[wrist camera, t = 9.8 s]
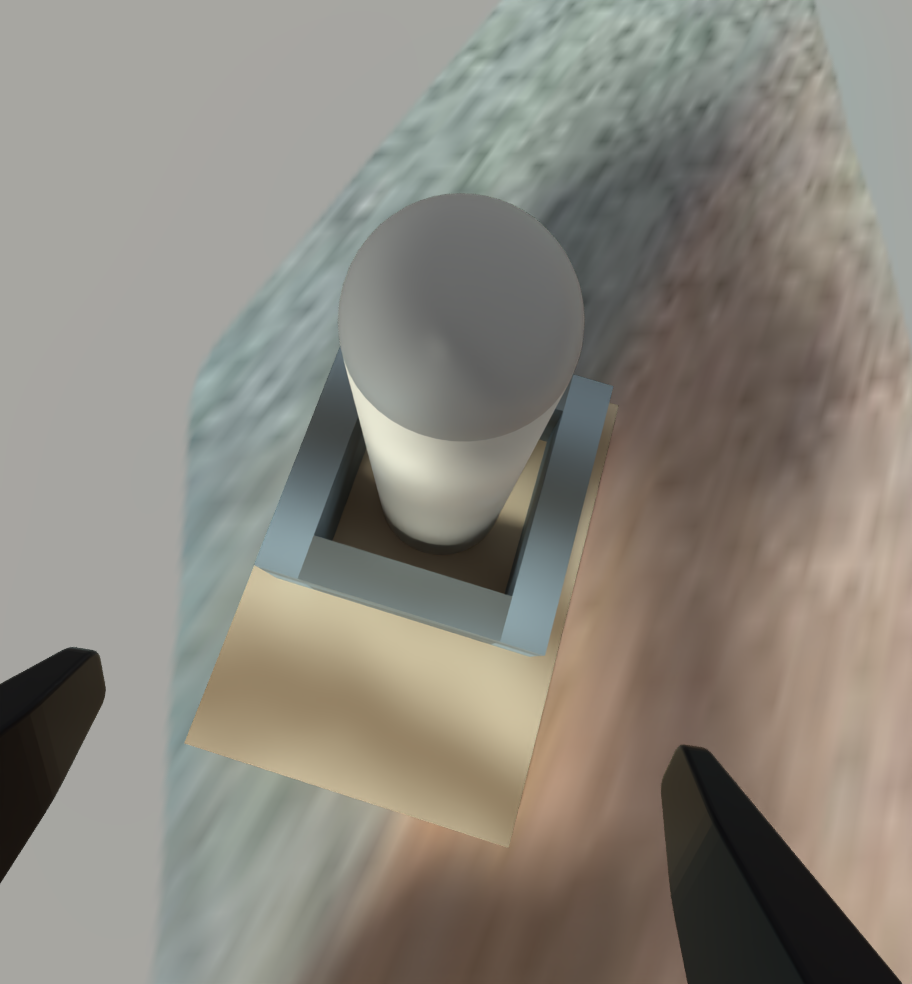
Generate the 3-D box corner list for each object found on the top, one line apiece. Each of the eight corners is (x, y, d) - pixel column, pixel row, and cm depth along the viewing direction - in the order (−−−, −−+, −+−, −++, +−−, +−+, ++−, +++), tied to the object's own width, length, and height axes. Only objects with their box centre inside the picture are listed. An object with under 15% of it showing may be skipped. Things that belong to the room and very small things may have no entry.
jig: (503, 838, 21) (522, 879, 17) (197, 739, 22) (144, 756, 17) (610, 417, 25) (644, 370, 21) (352, 341, 26) (338, 280, 22)
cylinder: (512, 542, 23) (651, 362, 9) (391, 565, 22) (343, 410, 8) (487, 430, 24) (577, 115, 10) (372, 449, 23) (301, 146, 10)
